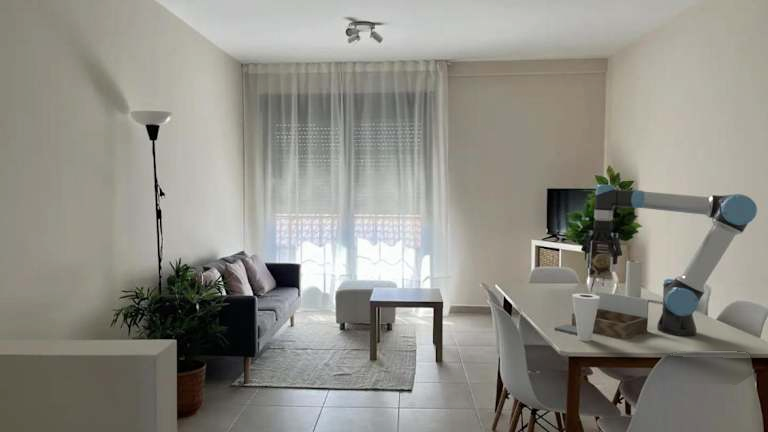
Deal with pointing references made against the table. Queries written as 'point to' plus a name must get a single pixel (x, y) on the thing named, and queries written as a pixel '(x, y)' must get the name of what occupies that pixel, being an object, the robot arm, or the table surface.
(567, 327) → the slate mat
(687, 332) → the robot arm
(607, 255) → the coffee box
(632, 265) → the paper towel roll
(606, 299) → the lid
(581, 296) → the cup
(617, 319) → the wooden tray
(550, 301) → the table surface
